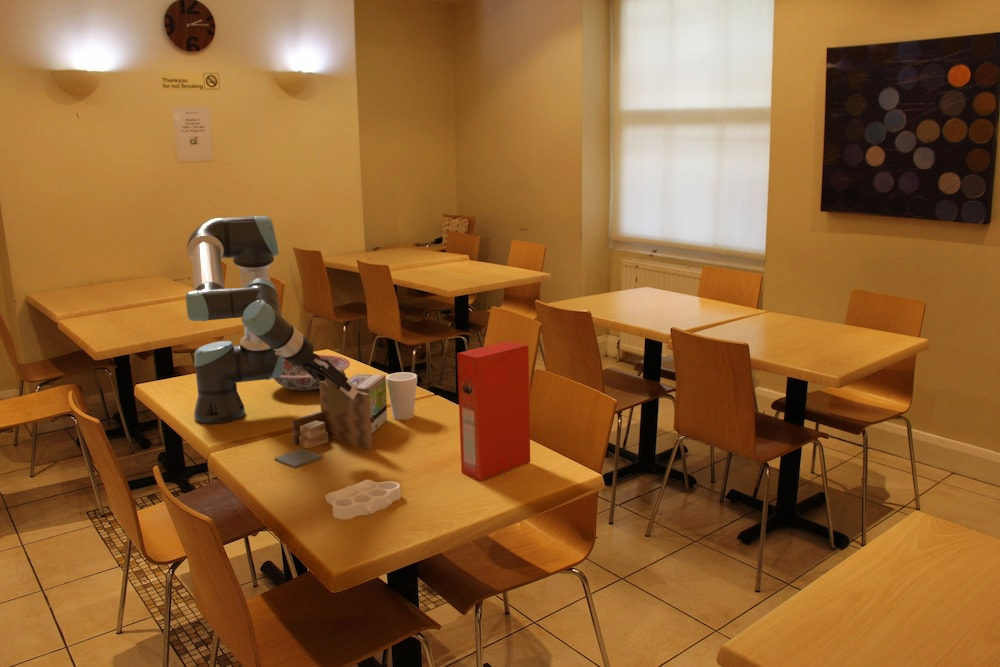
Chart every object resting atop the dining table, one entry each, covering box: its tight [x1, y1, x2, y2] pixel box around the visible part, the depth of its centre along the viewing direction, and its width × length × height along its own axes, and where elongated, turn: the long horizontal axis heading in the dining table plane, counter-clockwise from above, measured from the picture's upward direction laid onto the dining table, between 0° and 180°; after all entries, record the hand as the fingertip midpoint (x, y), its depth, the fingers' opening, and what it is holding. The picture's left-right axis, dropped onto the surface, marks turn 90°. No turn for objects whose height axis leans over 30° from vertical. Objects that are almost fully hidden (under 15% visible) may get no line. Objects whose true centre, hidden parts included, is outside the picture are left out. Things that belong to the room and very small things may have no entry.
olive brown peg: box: [326, 370, 349, 413], centre depth 221 cm, size 6×6×11 cm
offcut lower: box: [299, 432, 329, 449], centre depth 235 cm, size 4×7×3 cm, turn 135°
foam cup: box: [386, 371, 418, 421], centre depth 255 cm, size 10×9×13 cm
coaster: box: [274, 448, 323, 469], centre depth 223 cm, size 9×9×1 cm
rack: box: [290, 381, 373, 451], centre depth 231 cm, size 21×12×16 cm, turn 49°
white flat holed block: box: [325, 478, 402, 520], centre depth 195 cm, size 3×18×15 cm
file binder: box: [456, 340, 531, 482], centre depth 211 cm, size 8×17×32 cm, turn 133°
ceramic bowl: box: [272, 354, 351, 391], centre depth 289 cm, size 29×29×8 cm
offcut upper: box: [300, 420, 326, 439], centre depth 234 cm, size 4×6×3 cm, turn 148°
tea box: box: [347, 373, 388, 434], centre depth 246 cm, size 15×10×15 cm
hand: (347, 392), depth 224 cm, fingers closed on olive brown peg, 5 cm apart
